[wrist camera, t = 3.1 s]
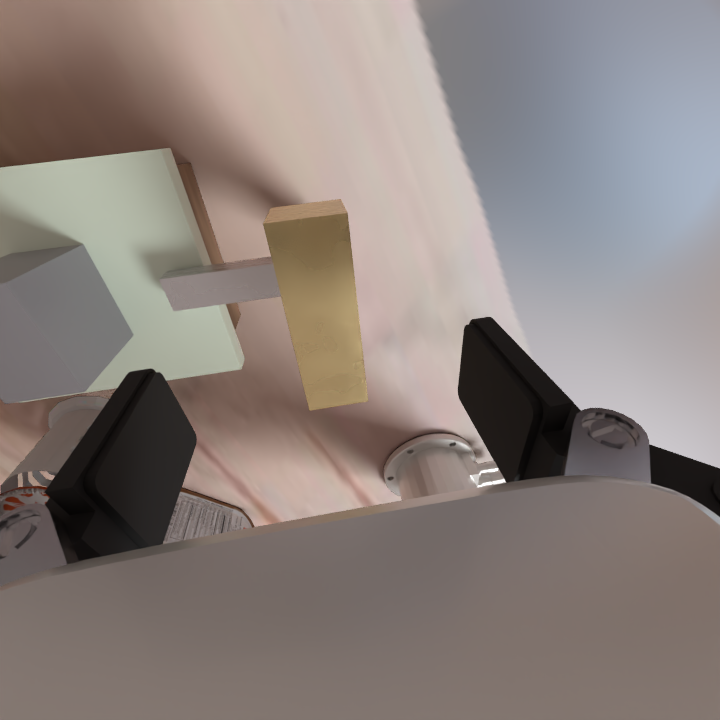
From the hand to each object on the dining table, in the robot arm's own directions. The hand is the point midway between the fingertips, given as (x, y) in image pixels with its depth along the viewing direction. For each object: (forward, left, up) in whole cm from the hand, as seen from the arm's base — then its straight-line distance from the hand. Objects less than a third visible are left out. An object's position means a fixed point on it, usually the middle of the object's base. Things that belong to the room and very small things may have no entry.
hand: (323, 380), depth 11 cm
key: (+4, +1, -20) cm, 20 cm away
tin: (+20, +33, -21) cm, 43 cm away
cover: (+15, +1, -14) cm, 21 cm away
